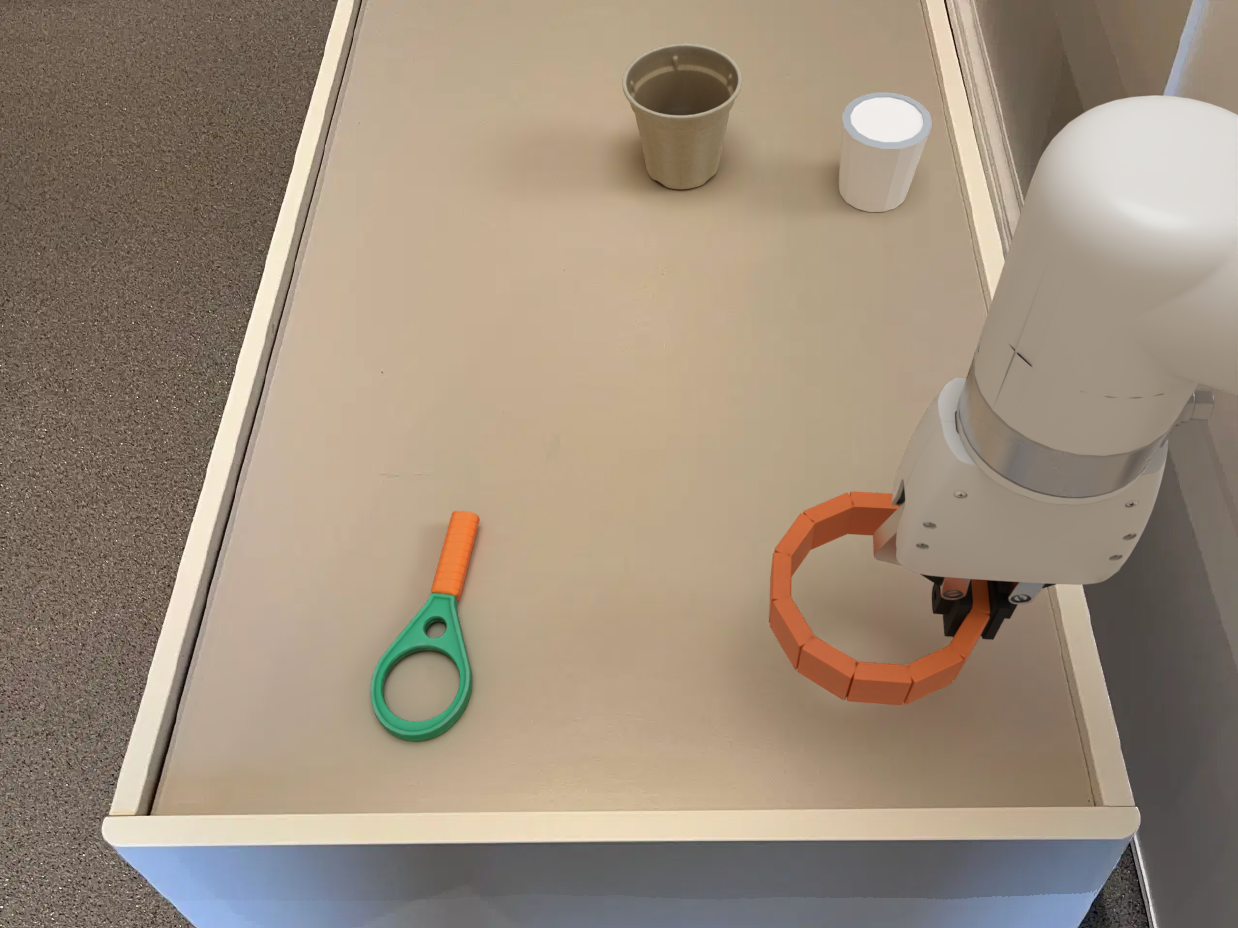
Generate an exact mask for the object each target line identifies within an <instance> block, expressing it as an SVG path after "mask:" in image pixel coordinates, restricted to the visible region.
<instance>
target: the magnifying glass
mask: <svg viewBox="0 0 1238 928" xmlns="http://www.w3.org/2000/svg"><path fill="white" fill-rule="evenodd" d="M480 519H481V518H480V516H479V514H477V513H475V512H473V511H466V510H453V511H452V513H451V516H450V518H449V522H448V525H447V530H446V534H445V537H444V541H443V545H442V549H441V553H440V556H439V560H438V563H437V568H436V571H435V575H434V578H433V581H432V585H431V589H430V595H429V597H428V599H427V600H426V602H425V603H424V605H423V606H421V608H420V609H419V611H418V612H417V613H416V614H415V616H414V617H413V618H412V619H411V620H410V622H409V623H408V624H406V626H405V628H404V629H402V631H401V632H400V633H399V634H398V636H397V637H396V638H395V639H394V640H393V642H391V644H390V645H389V646H388V647H387V648H386V650H385V651H384V652H383V654H382V655H381V657H380V658H379V660H378V661H377V663H376V665H375V666H374V669H373V672H372V676H371V678H370V679H371V680H370V687H369V694H370V701H371V706H372V709H373V712H374V714H375V717H376V718H377V720H378V722H379V724H380V726H381V727H383V728H384V729H385V730H386V731H387V732H388V733H389V734H390V735H391V736H393V737H396V738H398V739H400V740H403V741H407V742H425V741H428V740H431V739H434V738H437V737H439V736H440V735H442V734H444V733H445V732H447V731H449V729H451V728H452V727H453V726H454V725H455V724H456V722H457V721H458V720H459V719H460V718H461V716H463V714H464V712H465V710H466V709H467V706H468V704H469V702H470V698H471V695H472V689H473V672H472V667H471V663H470V660H469V655H468V651H467V647H466V643H465V638H464V634H463V631H462V626H461V622H460V618H459V615H458V613H459V612H458V602H459V600H460V598H461V595H462V591H463V587H464V585H465V584H464V583H465V579H466V576H467V572H468V568H469V564H470V560H471V555H472V552H473V548H474V544H475V540H476V537H477V533H478V528H479V524H480ZM436 622H437V623H438V622H441V623H444V624H445V631H444V633H443V634H442V635H441V636H438V637H429V636H428V634H427V630H428V628H429V626H431V624H434V623H436ZM421 651H435V652H438V653H441V654H443V655H445V656H447V658H449V659H450V660H451V661H452V662H453V663H454V665H455V666H456V668H457V670H458V673H459V674H458V675H459V685H458V690H457V694H456V695H455V697H454V699H453V700H452V702H451V703H450V705H449V706H448V707H447V708H446V709H445V710H444V711H442V712H441V713H440V714H438V715H437V716H434V717H432V718H429V719H425V720H420V721H415V720H414V721H413V720H407V719H404V718H402V717H399V716H397V715H396V714H394V712H392V711H391V710H390V707H388V706H387V704H386V701H385V695H384V690H385V689H384V687H385V683H386V680H387V677H388V675H389V673H390V672H391V671H392V669H393V667H395V665H396V664H397V663H398V662H399V661H400V660H401V659H403V658H405V657H407V656H408V655H410V654H413V653H416V652H421Z"/></svg>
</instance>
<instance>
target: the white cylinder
mask: <svg viewBox="0 0 1238 928" xmlns="http://www.w3.org/2000/svg"><path fill="white" fill-rule="evenodd" d="M932 126H933V121H932V117H931V113H930V112H929V111H928V109H926V107H925V106H924V105H923V104H922V102H919V101H917V100H916V99H913V98H912V97H910V96H908V95H904V94H900V93H896V92H892V91H889V92H888V91H887V92H883V91H882V92H879V91H878V92H871V93H867V94H863V95H860V96H858V97H856V98H854V99H853V100H852V101H850V102H849V103H848V104H847V105H846V107H845V108H844V110H843V112H842V114H841V127H840V128H841V129H840V150H839V171H838V172H839V174H838V175H839V176H838V190H839V195H840V197H842V199H843V200H844V201H845V203H847V204H848V205H849V206H851V207H853V208H855V210H860V211H863V212H866V213H867V212H868V213H884V212H888V211H891V210H895V209H897V208H898V207H899V206H901V205H902V204H903V203H904V202H905V201H906V198H907V196H908V193H909V191H910V188H911V186H912V182H913V180H914V177H915V174H916V171H917V169H918V166H919V162H920V160H921V157H922V154H923V152H924V148H925V147H926V146H925V145H926V143H927V141H928V137H929V135H930V132H931V130H932Z"/></svg>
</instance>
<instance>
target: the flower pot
mask: <svg viewBox="0 0 1238 928" xmlns="http://www.w3.org/2000/svg"><path fill="white" fill-rule="evenodd" d="M621 80H622V81H621V85H622V91H623V93H624V96H625V98H626V100H627V101H628V102H629V105H630V107H631V110H632V112H633V113H634V116H635V120H636V125H637V129H638V135H639V139H640V143H641V148H642V152H643V153H642V154H643V158H644V164H645V169H646V172H647V174H648V176H649V177H650V179H652V180H653V181H657V182H658V183H660V184H661V185H663V186H664V187H665V188H669V189H673V190H689V189H694V188H698V187H700V186H703V185H705V183H706V182H708V181H709V180H710V179H711V178H712V177H714V176H715V175H716V174H717V173H718V171H719V167H720V161H721V157H722V156H721V155H722V151H723V146H724V140H725V135H726V132H727V126H728V122H729V118H730V117H729V116H730V111H731V110H732V108H733V106H734V104H735V100H736V99H737V97H738V96H739V94H740V93H741V90H742V86H743V74H742V72H741V69H740V67H739V65H738V64H737V62H736V61H735V60H734V59H733V58H732V57H731V56H729V55H728V54H726V53H725V52H723V51H721V50H719V49H718V48H714V47H712V46H709V45H706V44H705V45H704V44H700V43H693V42H692V43H691V42H681V43H680V42H678V43H677V42H675V43H669V44H665V45H661V46H657V47H655V48H651V49H649V50H647V51H645V52H643V53H641V54H640V55H638V56H636V58H634V59H633V60H632V61H631V62H630V63H629V64H628V65H627V67H626V68H625V71H624V72H623V74H622V79H621Z"/></svg>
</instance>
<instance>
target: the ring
mask: <svg viewBox="0 0 1238 928" xmlns="http://www.w3.org/2000/svg"><path fill="white" fill-rule="evenodd" d="M899 507H900V506H893V505H892V493H891V492H889V493H887V492H871V491H870V492H869V491H853V490H852V491H850V492H844V493H842V494H840V495H838V496H835V497H833V498H831V499H828V500H826V501H824V502H821V503H819V504H816V505H814V506H812V507H809V508H807V509H805V510H803V512H801V513H800V514H799V515H798V516H797V518H796V519H795V520H794V521H793V523H792V524H791V526H790V527H789V529H788V530H787V531H786V532H785V534H784V536H782V538H781V540H780V541H779V542H778V544H777V545H776V546H775V547H774V551H773V553H772V559H771V566H770V567H771V568H770V576H769V602H768V603H769V604H768V624H769V628H770V630H771V631H772V633H773V636H775V638H776V640H777V642H778V644H779V645H780V647H781V649H782V650H783V652H784V654H785V655H786V657H787V659H788V661H789V663H790V664H791V666H792V667H793V669H794V670H797V671H796V672H797V673H798V674H800V675H801V676H803V677H805V678H806V679H808V680H809V681H811V682H813V683H814V684H816V685H818V686H819V687H821V688H822V689H824V690H826V691H827V692H829V693H831V694H833V695H834V696H835V697H837V698H839V699H841V700H842V701H845V700H846V701H847V702H850V703H851V702H852V703H863V704H877V705H888V706H900V707H901V706H903V705H906V706H907V705H910V704H911V703H914V702H916V701H918V700H920V699H922V698H924V697H926V696H928V695H931V694H933V693H935V692H937V691H939V690H941V689H944V688H945V687H947V686H950V685H952V683H953V682H954V681H956V679H957V678H958V676H959V674H960V673H961V671H962V669H963V667H964V666H965V664H966V662H967V660H968V658H969V657H970V655H971V654H972V652H973V650H974V648H975V647H976V645H977V643H978V641H979V640H980V638H981V634H982V632H983V630H984V628H985V626H986V624H987V622H988V620H989V618H990V616H989V615H990V604H989V594H988V584H987V580H979V579H971V583H972V595H973V607H972V609H971V611H970V613H968V614H967V616H966V617H965V619H964V621H963V622H962V624H961V626H960V627H959V629H958V631H957V632H956V634H955V636H954V637H952V639H951V641H950V642H949V644H948V645H947V646H944V647H942V648H940V649H938V650H935V651H934V652H931V653H929V654H927V655H924V656H923V657H921V658H919V659H918V658H917V660H914V661H912V662H909V663H908V664H899V663H898V664H897V663H887V662H885V663H884V662H871V661H870V662H869V661H858V660H856V659H854V658H853V657H851V656H850V655H848V654H846V653H845V652H842V651H841V650H839V649H837V648H836V647H834V646H832V645H831V644H829V643H827V642H826V641H824V640H823V639H821V638H819V637H818V636H816V635H815V634H814V633H813V631H812V629H811V627H810V626H809V624H808V623H807V621H806V619H805V617H804V616H803V614H802V613H801V611H800V610H799V608H798V606H797V604H796V602H795V601H794V600H793V597H792V577H793V576H794V574H795V573H796V572H797V571H798V569H799V568H800V566H801V565H802V564H803V562H804V561H805V559H806V558H807V556H808V555H809V553H810V552H811V551H812V550H814V549H816V548H819V547H821V546H823V545H826V544H828V543H830V542H832V541H835V540H837V539H839V538H842V537H844V536H847V535H857V536H873V534H874V532H875V531H876V530H877V529H878V528H879V527H880V526H881V525H882V524H883V523H884V522H885V521H886V520H887V519H888V518H889V517H890V516H891V515H892V514H893V513H894V512H895V511H896V510H897V509H898V508H899Z"/></svg>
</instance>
